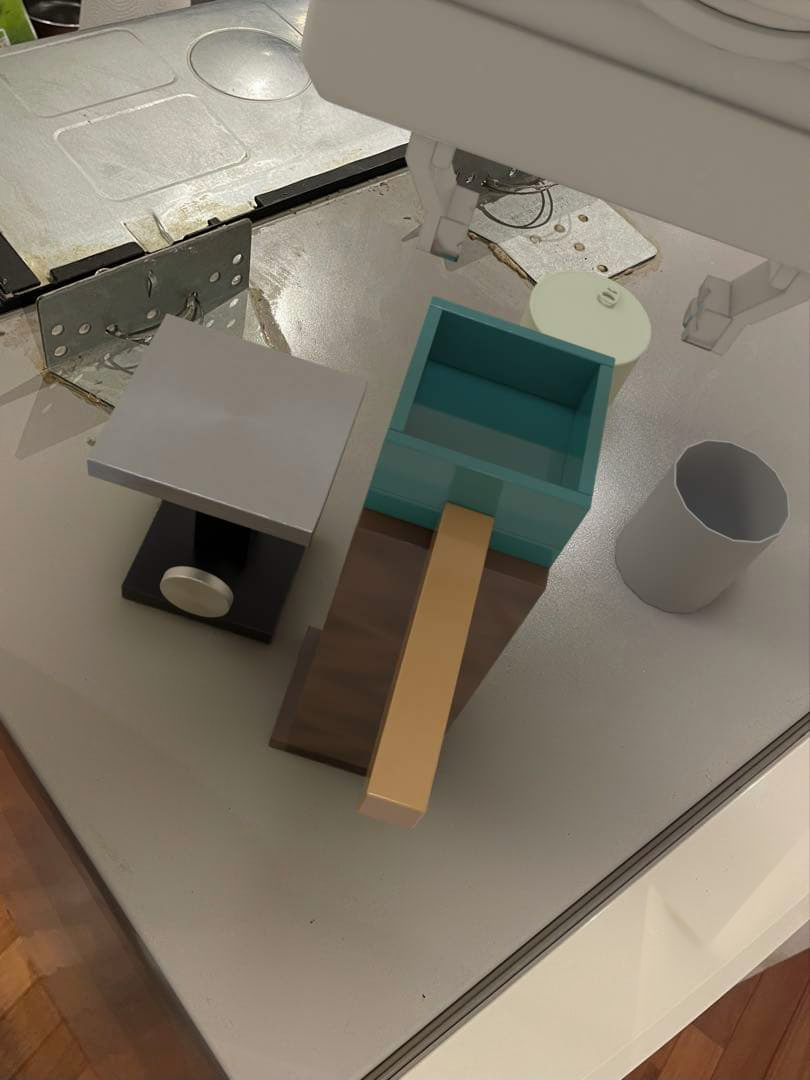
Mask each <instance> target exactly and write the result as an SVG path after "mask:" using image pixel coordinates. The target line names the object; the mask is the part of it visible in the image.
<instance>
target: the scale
mask: <svg viewBox="0 0 810 1080" xmlns="http://www.w3.org/2000/svg"><path fill="white" fill-rule="evenodd" d="M161 321H162V322H161V323H160V325H159V326H158V328H157V330H156V332H155V334H154V336H153V338H152V339H151V342H150V343H149V345H148V347H147V348H146V350H145V352H144V354H143V355H142V357H141V359H140V361H139V363H138V365H137V367H136V369H135V370H134V372H133V374H132V375H131V378H130V380H129V381H128V383H127V385H126V387H125V388H124V390H123V392H122V393H121V396H120V397H119V399H118V401H117V403H116V404H115V406H114V408H113V410H112V412H111V414H110V416H109V417H108V419H107V421H106V422H105V425H104V426H103V427H102V430H101V431H100V433H99V436H98V437H97V439H96V440H95V442H94V445H93V446H92V448H91V449H90V451H89V454H88V455H87V457H86V463H87V474H88V476H90V477H93V478H96V479H99V480H102V481H105V482H108V483H111V484H114V485H117V486H120V487H123V488H126V489H130V490H132V491H135V492H138V493H141V494H145V495H148V496H151V497H154V498H156V499H158V500H159V499H160V500H162V501H161V502H160V504H159V507H158V509H157V511H156V513H155V515H154V517H153V519H152V521H151V524H150V526H149V527H148V530H147V531H146V534H145V536H144V538H143V540H142V542H141V544H140V546H139V548H138V551H137V553H136V555H135V557H134V559H133V561H132V563H131V565H130V567H129V569H128V571H127V574H126V575H125V577H124V580H123V582H122V584H121V586H120V587H121V598H123V599H126V600H129V601H133V602H135V603H139V604H142V605H146V606H148V607H152V608H155V609H158V610H160V611H163V612H166V613H170V614H173V615H175V616H179V617H183V618H186V619H189V620H191V621H195V622H198V623H201V624H204V625H207V626H210V627H213V628H215V629H216V628H217V629H220V630H223V631H225V632H229V633H232V634H236V635H238V636H241V637H244V638H247V639H251V640H254V641H257V642H260V643H262V644H266V645H271V643H272V640H273V638H274V635H275V633H276V630H277V627H278V624H279V621H280V618H281V615H282V613H283V610H284V607H285V605H286V602H287V600H288V596H289V595H290V594H289V593H290V591H291V588H292V587H293V583H294V580H295V577H296V575H297V572H298V569H299V566H300V564H301V561H302V559H303V555H304V553H305V549H306V548H310V547H311V546H312V542H313V539H314V538H315V534H316V531H317V528H318V526H319V523H320V520H321V518H322V515H323V511H324V508H325V506H326V503H327V500H328V497H329V494H330V492H331V490H332V486H333V484H334V481H335V479H336V475H337V473H338V470H339V467H340V465H341V462H342V459H343V456H344V453H345V450H346V447H347V446H348V443H349V440H350V437H351V434H352V432H353V428H354V426H355V423H356V420H357V418H358V415H359V412H360V410H361V405H362V404H363V401H364V399H365V394H366V392H367V391H366V390H367V388H368V383H369V381H368V380H367V379H364V378H363V379H362V378H360V377H357V376H355V375H351V374H348V373H346V372H342V371H340V370H337V369H334V368H331V367H328V366H325V365H322V364H319V363H317V362H313V361H310V360H307V359H304V358H301V357H299V356H295V355H292V354H289V353H287V352H284V351H280V350H277V349H274V348H271V347H268V346H266V345H263V344H262V345H261V344H260V343H258V342H257V343H256V342H254V341H251V340H248V339H245V338H241V337H238V336H236V335H232V334H229V333H227V332H224V331H222V330H218V329H215V328H211V327H209V326H206V325H204V324H199V323H197V322H194V321H191V320H189V319H185V318H182V317H179V316H176V315H173V314H170V313H166V314H165V316H164V317H163V319H162V320H161Z"/></svg>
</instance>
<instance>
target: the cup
mask: <svg viewBox="0 0 810 1080" xmlns="http://www.w3.org/2000/svg"><path fill="white" fill-rule="evenodd" d="M790 508H791V507H790V495H789V493H788V490H787V489H786V487H785V485H784V483H783V481H782V480H781V478H780V476H779V474H778V472H777V470H775V469H774V468H773V467H772V466H771V465H770V464H769V463H767V462H766V460H764V459H763V458H762V457H761V456H760V455H759V454H757V452H754V451H752V450H750V449H748V448H746V447H743V446H742V445H739V444H738V443H735V442H733V441H729V440H718V439H707V438H705V439H703V440H701V441H698V442H695V443H692V444H689V445H687V446H685V448H684V449H683V450H682V452H681V453H680V454H679V456H678V457H677V459H676V460H675V461H674V462H673V464H672V465H671V466H670V468H668V470H667V472H666V473H665V474H664V475H663V477H662V478H661V480H660V481H659V482H658V483H657V485H655V487H654V489H653V490H652V491H651V493H650V494H649V496H648V497H647V498H646V499H645V501H644V502H643V503H642V505H641V506H640V508H639V509H638V510H637V512H636V513H635V514H634V516H633V517H632V518H631V520H630V521H629V522H628V524H627V525H626V526H625V528H624V529H623V530H622V532H621V533H620V535H619V536H618V537H617V538H616V544H615V563H616V565H617V567H618V570H619V572H620V575H621V577H622V580H623V581H624V583H625V584H626V585H627V587H628V588H630V589H631V591H632V592H634V594H636V596H638V597H639V599H641V600H642V602H644V603H647V604H648V605H651V606H653V607H654V608H656V609H659V610H661V611H663V612H665V613H674V614H675V613H678V614H692V613H694V612H697V611H699V610H700V609H703V608H705V607H707V606H709V605H710V604H711V603H713V601H714V600H716V598H717V597H718V596H720V595H721V593H723V591H724V590H725V589H726V588H728V586H729V585H731V584H732V583H733V582H734V580H736V578H738V577H739V576H740V574H742V572H744V571H745V570H746V568H747V567H749V565H751V564H752V563H753V562H754V561H755V560H756V558H758V557H759V556H760V555H761V554H762V553H763V552H764V550H766V548H768V547H769V546H770V545H771V544H772V543H773V542H774V541H775V540H776V539H777V538H778V537H779V536H780V534H781V533H782V531H783V530H784V528H785V526H786V524H787V523H788V521H789V519H790V518H791V511H790Z"/></svg>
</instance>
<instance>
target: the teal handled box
mask: <svg viewBox="0 0 810 1080" xmlns="http://www.w3.org/2000/svg"><path fill="white" fill-rule="evenodd" d="M614 366H615V358H614V357H611V356H608V355H605V354H602V353H599V352H596V351H593V350H590V349H587V348H584V347H581V346H579V345H576V344H573V343H570V342H567V341H564V340H561V339H558V338H555V337H552V336H549V335H546V334H543V333H541V332H538V331H535V330H532V329H529V328H526V327H523V326H520V325H519V324H517V323H514V322H511V321H508V320H505V319H503V318H499V317H497V316H494V315H491V314H488V313H484V312H482V311H479V310H476V309H473V308H470V307H467V306H465V305H461V304H459V303H455V302H453V301H449V300H447V299H444V298H441V297H438V296H435V295H432V296H431V297H430V301H429V303H428V307H427V309H426V313H425V316H424V318H423V321H422V325H421V328H420V331H419V333H418V337H417V339H416V342H415V345H414V348H413V351H412V354H411V357H410V360H409V363H408V366H407V369H406V372H405V375H404V378H403V380H402V384H401V386H400V387H401V388H400V389H399V393H398V397H397V399H396V402H395V405H394V408H393V411H392V414H391V417H390V420H389V423H388V426H387V429H386V432H385V435H384V438H383V440H382V445H381V447H380V451H379V454H378V456H377V461H376V463H375V465H374V469H373V473H372V475H371V479H370V481H369V485H368V487H367V490H366V494H365V497H364V500H363V503H362V506H363V507H365V508H368V509H371V510H374V511H377V512H380V513H383V514H386V515H389V516H392V517H395V518H398V519H401V520H404V521H407V522H410V523H413V524H416V525H419V526H422V527H425V528H428V529H431V530H434V532H433V535H432V539H431V542H430V546H429V550H428V553H427V557H426V561H425V564H424V568H423V571H422V575H421V579H420V582H419V586H418V589H417V593H416V597H415V600H414V604H413V607H412V611H411V615H410V618H409V622H408V626H407V629H406V633H405V636H404V640H403V644H402V647H401V651H400V654H399V658H398V662H397V665H396V669H395V673H394V676H393V680H392V683H391V687H390V691H389V694H388V698H387V701H386V705H385V709H384V712H383V716H382V719H381V723H380V727H379V730H378V734H377V738H376V741H375V745H374V748H373V752H372V756H371V759H370V763H369V766H368V770H367V774H366V777H365V776H364V781H363V784H362V789H361V792H360V796H359V799H358V803H357V807H356V812H357V814H360V815H364V816H367V817H370V818H372V819H377V820H380V821H382V822H386V823H390V824H393V825H396V826H399V827H402V828H405V829H408V830H414V828H415V826H416V825H417V824H418V823H419V822H420V820H421V819H422V818H423V816H424V815H425V814H426V813H427V811H428V805H429V800H430V797H431V792H432V789H433V784H434V780H435V776H436V772H437V767H438V764H439V763H438V762H439V759H440V754H441V750H442V746H443V742H444V738H445V736H444V733H445V729H446V725H447V721H448V716H449V712H450V708H451V704H452V699H453V695H454V691H455V687H456V682H457V678H458V674H459V670H460V665H461V661H462V657H463V653H464V648H465V644H466V640H467V636H468V631H469V627H470V623H471V619H472V614H473V610H474V606H475V602H476V597H477V593H478V589H479V585H480V580H481V576H482V572H483V568H484V563H485V559H486V555H487V551H488V548H489V549H492V550H495V551H498V552H501V553H504V554H507V555H510V556H513V557H516V558H519V559H522V560H525V561H528V562H531V563H534V564H537V565H540V566H543V567H546V568H550V569H551V568H552V567H553V565H554V564H555V562H556V561H557V560H558V558H559V556H560V555H561V554H562V552H563V550H564V549H565V547H566V546H567V544H568V543H569V541H570V540H571V538H572V537H573V535H574V534H575V532H576V531H577V529H578V528H579V527H580V525H581V523H582V522H583V521H584V519H585V518H586V516H587V515H588V513H589V512H590V510H591V509H592V503H593V496H594V490H595V484H596V478H597V474H598V466H599V461H600V454H601V448H602V444H603V438H604V437H603V436H604V431H605V425H606V418H607V413H608V410H607V408H608V402H609V396H610V390H611V384H612V378H613V372H614ZM608 409H609V408H608Z"/></svg>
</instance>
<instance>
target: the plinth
mask: <svg viewBox="0 0 810 1080" xmlns="http://www.w3.org/2000/svg"><path fill="white" fill-rule="evenodd" d="M433 532H434V530H431V529H428V528H425V527H422V526H419V525H416V524H413V523H410V522H407V521H404V520H401V519H398V518H395V517H392V516H389V515H386V514H383V513H380V512H377V511H374V510H371V509H368V508H365V507H363V505H362V506H361V510H360V513H359V516H358V518H357V522H356V525H355V528H354V531H353V534H352V537H351V540H350V543H349V546H348V550H347V553H346V555H345V559H344V561H343V565H342V568H341V571H340V574H339V577H338V580H337V584H336V586H335V589H334V593H333V597H332V599H331V601H330V606H329V609H328V612H327V615H326V617H325V621H324V624H323V627H322V629H321V628H318V627H315V626H312V625H308V627H307V629H306V632H305V635H304V639H303V641H302V645H301V647H300V649H299V653H298V655H297V659H296V661H295V665H294V668H293V670H292V673H291V676H290V680H289V682H288V685H287V688H286V691H285V693H284V697H283V700H282V703H281V705H280V709H279V711H278V715H277V718H276V720H275V723H274V725H273V729H272V731H271V735H270V738H269V742H268V747H270V748H274V749H277V750H280V751H283V752H287V753H289V754H292V755H296V756H299V757H302V758H305V759H309V760H311V761H315V762H318V763H321V764H324V765H328V766H331V767H334V768H336V769H340V770H342V771H343V770H344V771H345V772H349V773H352V774H356V775H359V776H362V777H364V778H365V777H366V774H367V770H368V766H369V763H370V759H371V756H372V752H373V748H374V745H375V741H376V738H377V734H378V730H379V727H380V723H381V719H382V716H383V712H384V709H385V705H386V701H387V698H388V694H389V691H390V687H391V683H392V680H393V676H394V673H395V669H396V665H397V662H398V658H399V654H400V651H401V647H402V644H403V640H404V636H405V633H406V629H407V626H408V622H409V618H410V615H411V611H412V607H413V604H414V600H415V597H416V593H417V589H418V586H419V582H420V579H421V575H422V571H423V568H424V564H425V561H426V557H427V553H428V550H429V546H430V542H431V539H432V535H433ZM550 571H551V568H546V567H543V566H540V565H537V564H534V563H531V562H528V561H525V560H522V559H519V558H516V557H513V556H510V555H507V554H504V553H501V552H498V551H495V550H492V549H489V548H488V551H487V555H486V559H485V563H484V568H483V572H482V576H481V580H480V585H479V589H478V593H477V597H476V602H475V606H474V610H473V614H472V619H471V623H470V627H469V631H468V636H467V640H466V644H465V648H464V653H463V657H462V661H461V665H460V670H459V674H458V678H457V682H456V687H455V691H454V695H453V699H452V704H451V708H450V712H449V716H448V721H447V725H446V729H445V733H444V737H446V735H447V733H448V732H449V730H450V729H451V727H452V726H453V724H455V722H456V720H457V719H458V718H459V715H461V713H462V711H463V710H464V708H465V707H466V706H467V704H468V703H469V701H470V700H471V699H472V697H473V695H474V694H475V693H476V691H477V690H478V689H479V687H480V685H481V684H482V682H483V681H484V680H485V678H486V676H487V675H488V674H489V672H490V671H491V670H492V668H493V666H494V665H495V664H496V663H497V661H498V659H499V658H500V657H501V655H502V654H503V652H504V651H505V649H506V648H507V646H508V645H509V644H510V642H511V641H512V639H513V638H514V636H515V635H516V633H517V632H518V630H519V629H520V628H521V626H522V625H523V623H524V622H525V620H526V619H527V617H528V615H529V614H530V613H531V612H532V610H534V609H533V608H534V607H535V606H536V605H537V603H538V602H539V600H540V599H541V597H542V596H543V594H544V593H545V591H546V590H547V586H548V581H549V580H548V579H549V576H550Z"/></svg>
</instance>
